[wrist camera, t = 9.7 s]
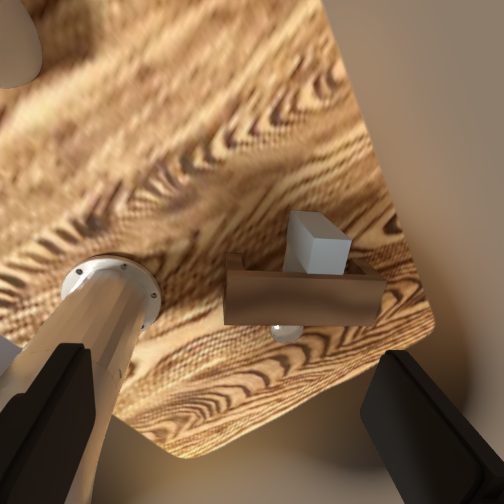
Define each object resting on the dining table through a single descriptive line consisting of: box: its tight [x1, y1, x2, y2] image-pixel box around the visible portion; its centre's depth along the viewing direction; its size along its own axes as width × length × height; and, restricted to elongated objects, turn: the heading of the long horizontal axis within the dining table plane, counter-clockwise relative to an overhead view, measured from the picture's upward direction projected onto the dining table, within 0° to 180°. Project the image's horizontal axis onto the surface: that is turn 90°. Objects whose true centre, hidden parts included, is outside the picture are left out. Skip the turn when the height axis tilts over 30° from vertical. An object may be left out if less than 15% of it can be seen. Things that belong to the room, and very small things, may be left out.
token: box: [270, 326, 303, 343], centre depth 46 cm, size 5×5×2 cm
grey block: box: [282, 210, 352, 275], centre depth 37 cm, size 16×4×10 cm, turn 174°
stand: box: [223, 253, 387, 326], centre depth 40 cm, size 7×20×6 cm, turn 84°
